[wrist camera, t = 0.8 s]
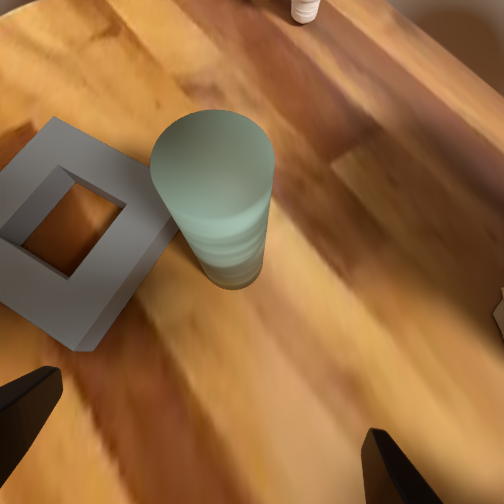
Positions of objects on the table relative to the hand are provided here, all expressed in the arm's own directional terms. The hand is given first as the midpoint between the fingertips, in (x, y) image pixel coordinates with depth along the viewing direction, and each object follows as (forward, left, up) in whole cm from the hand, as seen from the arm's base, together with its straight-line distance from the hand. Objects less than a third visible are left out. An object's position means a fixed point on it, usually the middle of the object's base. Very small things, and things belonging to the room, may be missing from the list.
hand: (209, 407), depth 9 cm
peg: (+7, +4, -13) cm, 15 cm away
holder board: (+3, +16, -13) cm, 21 cm away
